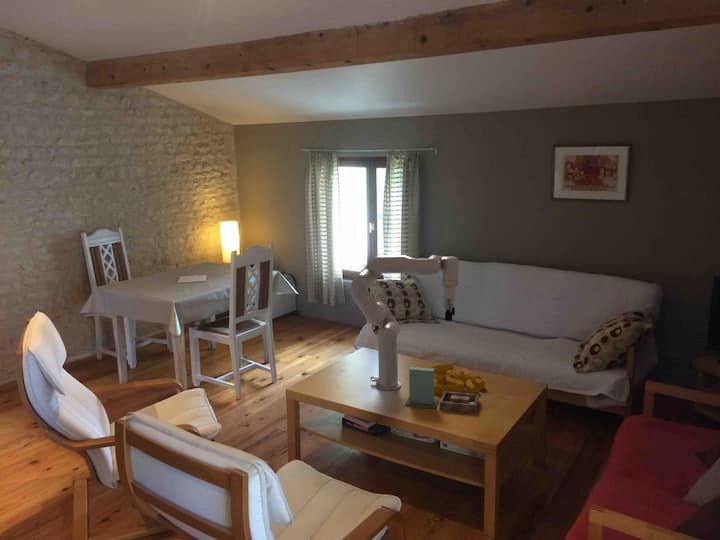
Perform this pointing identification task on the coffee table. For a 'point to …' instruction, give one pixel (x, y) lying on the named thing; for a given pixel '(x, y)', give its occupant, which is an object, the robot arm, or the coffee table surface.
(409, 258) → the robot arm
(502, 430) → the coffee table surface
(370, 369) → the coffee table surface
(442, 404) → the brown rectangular frame
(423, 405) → the mat
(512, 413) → the coffee table surface
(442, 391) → the decorative symbol
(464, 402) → the offcut stack
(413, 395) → the teal rectangular block
